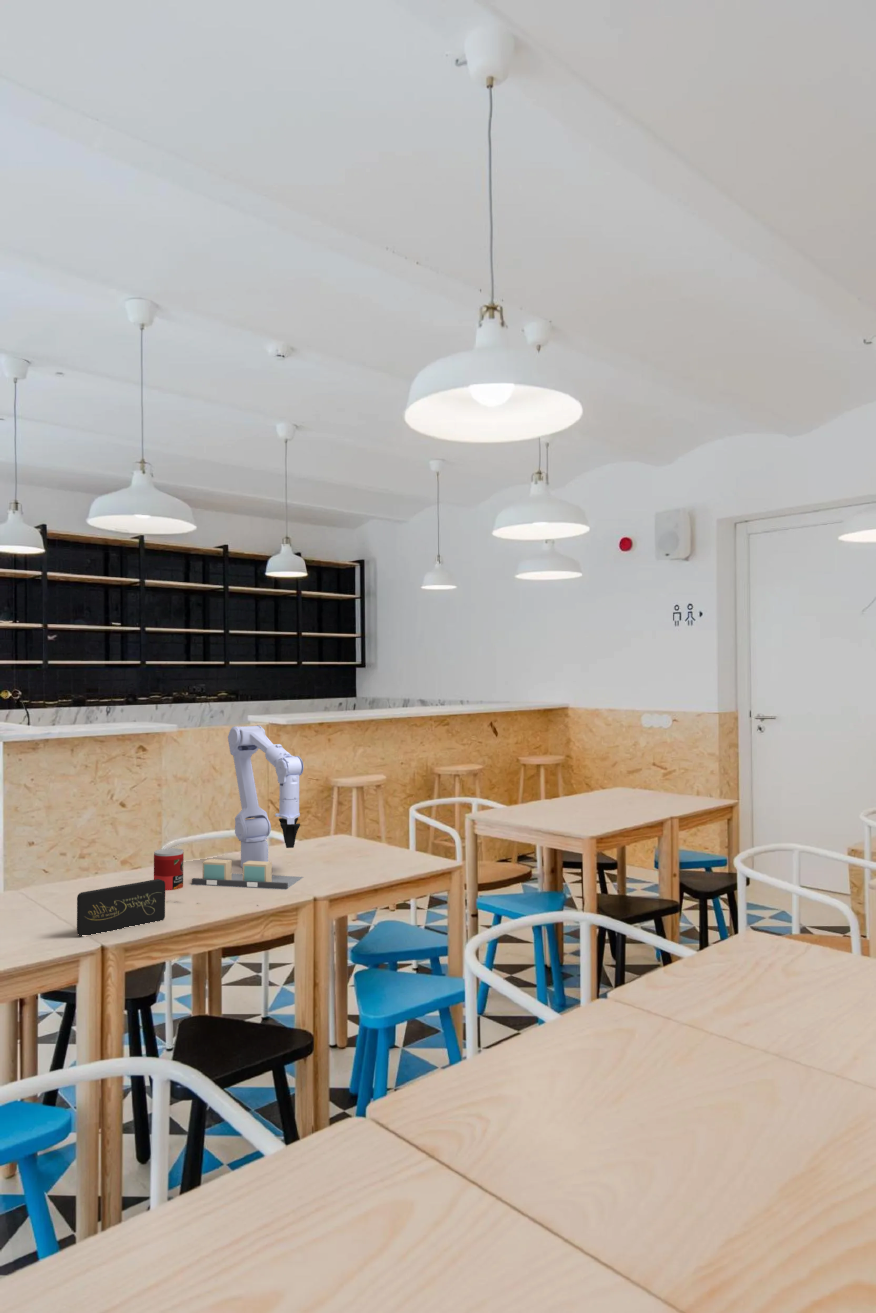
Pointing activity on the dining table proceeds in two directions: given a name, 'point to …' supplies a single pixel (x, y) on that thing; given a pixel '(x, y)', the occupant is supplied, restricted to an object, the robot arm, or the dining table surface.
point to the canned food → (169, 867)
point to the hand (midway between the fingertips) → (289, 845)
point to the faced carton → (217, 869)
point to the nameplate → (120, 907)
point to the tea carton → (257, 871)
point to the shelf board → (249, 882)
